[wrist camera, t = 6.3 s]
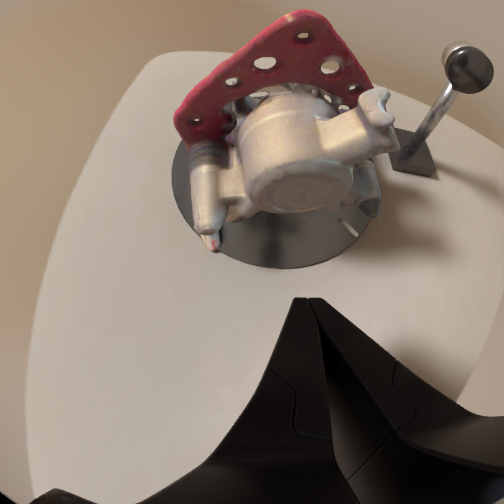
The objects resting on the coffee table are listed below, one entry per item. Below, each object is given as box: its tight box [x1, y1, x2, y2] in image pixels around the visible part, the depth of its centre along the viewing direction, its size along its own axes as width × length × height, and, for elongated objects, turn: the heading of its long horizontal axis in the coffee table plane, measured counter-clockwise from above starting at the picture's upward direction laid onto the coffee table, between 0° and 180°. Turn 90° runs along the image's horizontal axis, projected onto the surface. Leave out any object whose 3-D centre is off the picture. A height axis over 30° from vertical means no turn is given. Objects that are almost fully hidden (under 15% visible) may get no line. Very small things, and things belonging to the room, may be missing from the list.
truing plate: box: [172, 96, 371, 268], centre depth 18 cm, size 14×14×1 cm
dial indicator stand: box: [388, 41, 494, 177], centre depth 13 cm, size 4×4×12 cm
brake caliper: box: [173, 9, 400, 251], centre depth 14 cm, size 11×11×12 cm
